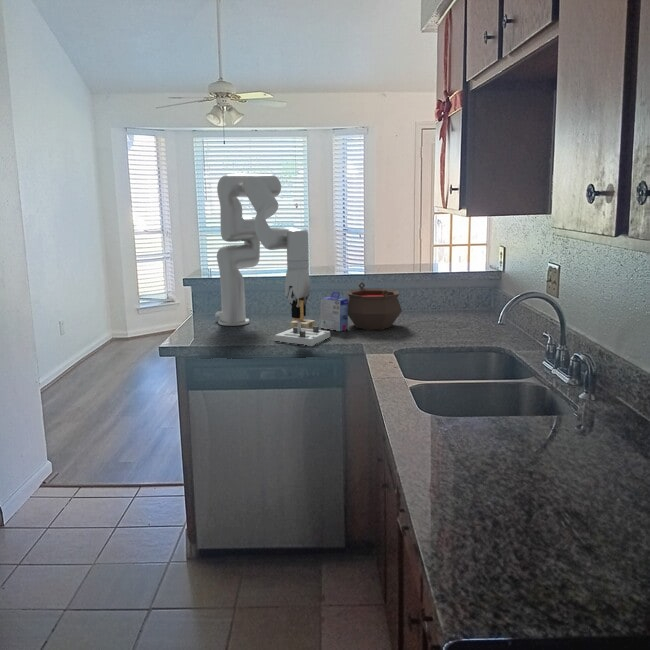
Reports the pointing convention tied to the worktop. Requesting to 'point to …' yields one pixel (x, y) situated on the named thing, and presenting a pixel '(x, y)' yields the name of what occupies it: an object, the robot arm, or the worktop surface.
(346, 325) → the ink cartridge box
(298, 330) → the tan rounded cylinder
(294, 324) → the stand
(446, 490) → the worktop surface
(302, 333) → the tab
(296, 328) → the tab
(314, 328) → the tab
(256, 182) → the robot arm
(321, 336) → the switch bank
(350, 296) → the brown cauldron pot
